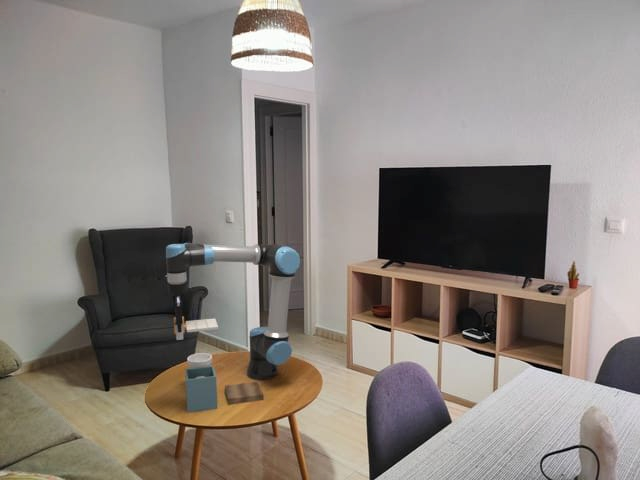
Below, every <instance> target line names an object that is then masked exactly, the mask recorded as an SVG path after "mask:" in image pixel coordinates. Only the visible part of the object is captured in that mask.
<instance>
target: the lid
mask: <svg viewBox="0 0 640 480" xmlns="http://www.w3.org/2000/svg"><path fill="white" fill-rule="evenodd" d="M182 322H183V334H185V330H186V332H187V333H194V332H195V333H196V332H206V331H213V330H214V331H215V330H219V325H218V322H217V319H216V318H204V319H194V320H186V321H185V316H183V315H182ZM174 323H176V317H175V316H173V326H174V327H173V331H174V335H176V325H174Z"/></svg>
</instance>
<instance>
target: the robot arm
mask: <svg viewBox="0 0 640 480" xmlns="http://www.w3.org/2000/svg"><path fill="white" fill-rule="evenodd" d="M165 259H166V263H165V264H166V274H165V278H166V279H167V293H169V294H173V295H172V301H173V308H174V312H175V314H174V315H175V316H174V317H176V323H174V322H173V326H174V325H176V334H175V338H176V341H180V340H184V333H183V322H182V316H183V307H184V306H183V305H184V304H183V301H184V295H182V294H183V293H186V292H187V290H188V285H187V279H188V278H187V267H188V268H189V267H198V266H208V265H212V264H214V263H215V262H217V263H218V262H220V263H221V262H223V263H225V262H226V263H227V262H228V263H249V264H251V263H252V264H253V265H254V266H263V267H266V268H269V272H268V273H269V275H268V276H270V277H271V290H270V297H269V308H268V309H269V310H268V320H267V326H260V327H254V328H252V329H251V330H250V331H249V336H248V337H249V362H248V365H247V367H246V368H247V369H246V375H247V377H248V378H250V379H252V380H260V381H261V380H262V381H263V380H270V379H273V378H275V377H276V376H277V375H279V369H278V368H279V367H278V366H280V365H284V364H285V363H287V361H288V360H289V359H290V358H291V355H292V353H293V352H292V350H293V349H292V346H291V344H290V343H289V339H290V334H289V333H288V332H287V323H288V313H289V304H290V302H289V301H290V295H291V294H290V291H291V282H292V280H293V279H294V278H295V276H296V275H295V273H297V271H298V270H299V268H300V266H301V257H300V255H299V253H298V252H297V250H295V249H293V248H292V247H290V246H285V245H281V244H277V243H275V244H274V243H272V244H271V243H268V244H254V245H253V246H249V245H226V244H206V243H205V244H204V243H193V242H185V243H172V244H168V245H167V246H166V247H165Z"/></svg>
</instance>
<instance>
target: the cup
mask: <svg viewBox="0 0 640 480" xmlns="http://www.w3.org/2000/svg"><path fill="white" fill-rule="evenodd" d="M186 359H187V365H188V367H189V369H192V368H201V367H209V366H212V363H213V356H212V354H210V353H207V352H199V353H194V354H193V353H192V354H191V355H188V357H187V358H186Z"/></svg>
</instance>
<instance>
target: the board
mask: <svg viewBox="0 0 640 480" xmlns="http://www.w3.org/2000/svg"><path fill="white" fill-rule="evenodd" d="M224 393H225V396H226V399H227V403H228V405H229V406H230V405H236V404H243V403H249V402H250V403H251V402H256V401H264V399H265V398H264V392H263V391H262V388H261V386H260V384H259V382H258V381H252V382H251V381H250V382H244V383H235V384H226V385H224Z"/></svg>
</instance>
